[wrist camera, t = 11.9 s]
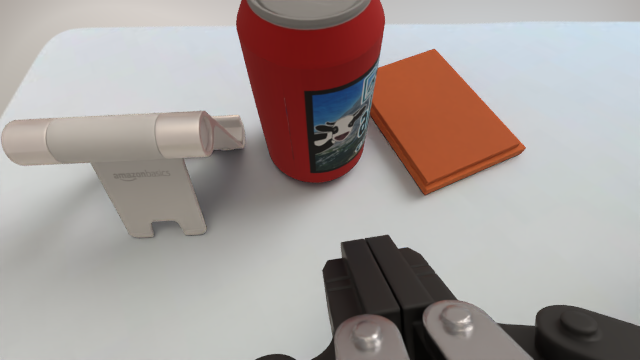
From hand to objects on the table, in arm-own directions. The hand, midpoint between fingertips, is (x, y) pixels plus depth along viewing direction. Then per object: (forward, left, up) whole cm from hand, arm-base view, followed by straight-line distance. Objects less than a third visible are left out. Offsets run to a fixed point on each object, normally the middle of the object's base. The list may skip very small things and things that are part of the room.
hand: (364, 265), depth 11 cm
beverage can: (-3, -11, -9) cm, 15 cm away
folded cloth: (-12, -10, -9) cm, 18 cm away
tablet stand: (+7, -12, -9) cm, 17 cm away
